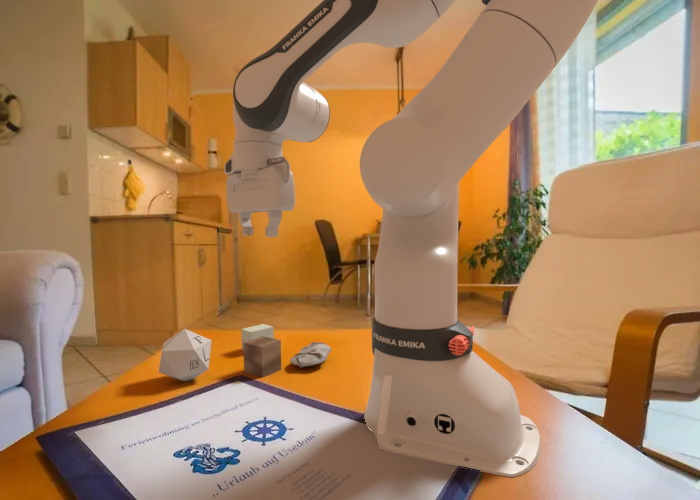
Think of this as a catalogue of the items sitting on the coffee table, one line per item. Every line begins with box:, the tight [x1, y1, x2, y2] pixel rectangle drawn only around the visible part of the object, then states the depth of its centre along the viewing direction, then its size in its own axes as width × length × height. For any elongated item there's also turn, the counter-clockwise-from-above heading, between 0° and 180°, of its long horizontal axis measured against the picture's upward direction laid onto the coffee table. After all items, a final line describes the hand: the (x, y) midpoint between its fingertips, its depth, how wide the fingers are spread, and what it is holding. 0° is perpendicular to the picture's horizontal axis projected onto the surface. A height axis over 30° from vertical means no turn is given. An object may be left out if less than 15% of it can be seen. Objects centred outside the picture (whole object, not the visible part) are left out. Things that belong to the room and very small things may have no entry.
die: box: [158, 328, 212, 383], centre depth 66 cm, size 8×9×10 cm
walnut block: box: [243, 336, 282, 378], centre depth 71 cm, size 5×5×6 cm
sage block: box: [241, 323, 275, 352], centre depth 84 cm, size 4×6×5 cm, turn 137°
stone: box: [289, 341, 332, 368], centre depth 75 cm, size 10×7×3 cm
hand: (259, 236), depth 69 cm, fingers open, 8 cm apart
